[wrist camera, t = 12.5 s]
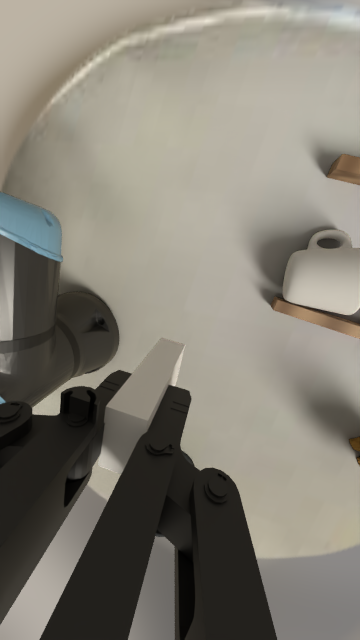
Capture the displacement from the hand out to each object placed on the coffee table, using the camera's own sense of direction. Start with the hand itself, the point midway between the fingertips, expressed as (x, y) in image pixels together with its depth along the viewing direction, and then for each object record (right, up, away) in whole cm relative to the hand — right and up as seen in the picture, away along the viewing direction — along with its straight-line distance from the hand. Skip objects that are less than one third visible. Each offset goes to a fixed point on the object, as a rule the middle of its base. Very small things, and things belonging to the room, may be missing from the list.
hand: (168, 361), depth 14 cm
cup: (+15, +10, +16) cm, 24 cm away
